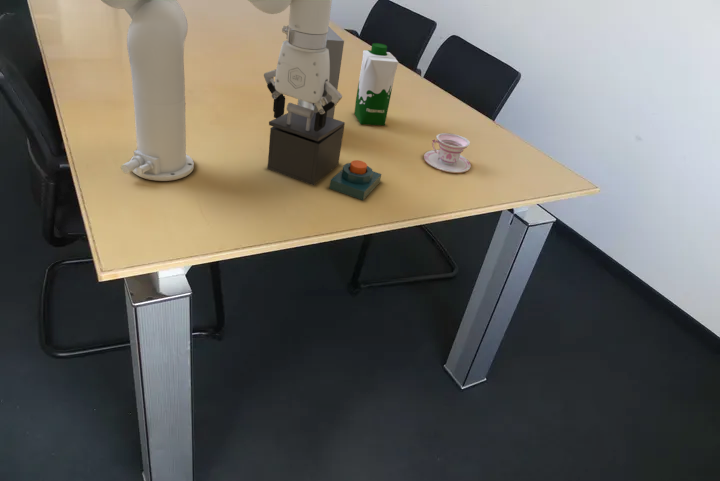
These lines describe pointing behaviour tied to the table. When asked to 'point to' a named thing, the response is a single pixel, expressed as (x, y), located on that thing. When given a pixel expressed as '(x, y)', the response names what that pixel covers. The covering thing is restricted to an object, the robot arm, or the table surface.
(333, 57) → the ribbed grey cuboid
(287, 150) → the open dark grey box
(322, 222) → the table surface
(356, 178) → the control block
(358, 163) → the button
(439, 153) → the teacup
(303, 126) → the lid
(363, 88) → the milk carton
